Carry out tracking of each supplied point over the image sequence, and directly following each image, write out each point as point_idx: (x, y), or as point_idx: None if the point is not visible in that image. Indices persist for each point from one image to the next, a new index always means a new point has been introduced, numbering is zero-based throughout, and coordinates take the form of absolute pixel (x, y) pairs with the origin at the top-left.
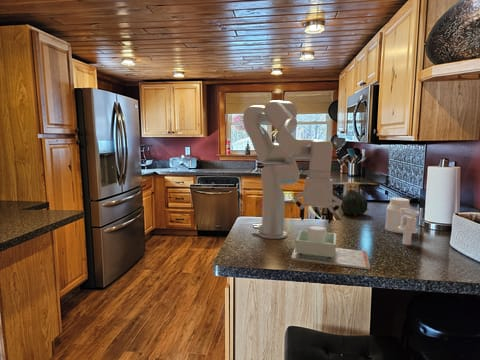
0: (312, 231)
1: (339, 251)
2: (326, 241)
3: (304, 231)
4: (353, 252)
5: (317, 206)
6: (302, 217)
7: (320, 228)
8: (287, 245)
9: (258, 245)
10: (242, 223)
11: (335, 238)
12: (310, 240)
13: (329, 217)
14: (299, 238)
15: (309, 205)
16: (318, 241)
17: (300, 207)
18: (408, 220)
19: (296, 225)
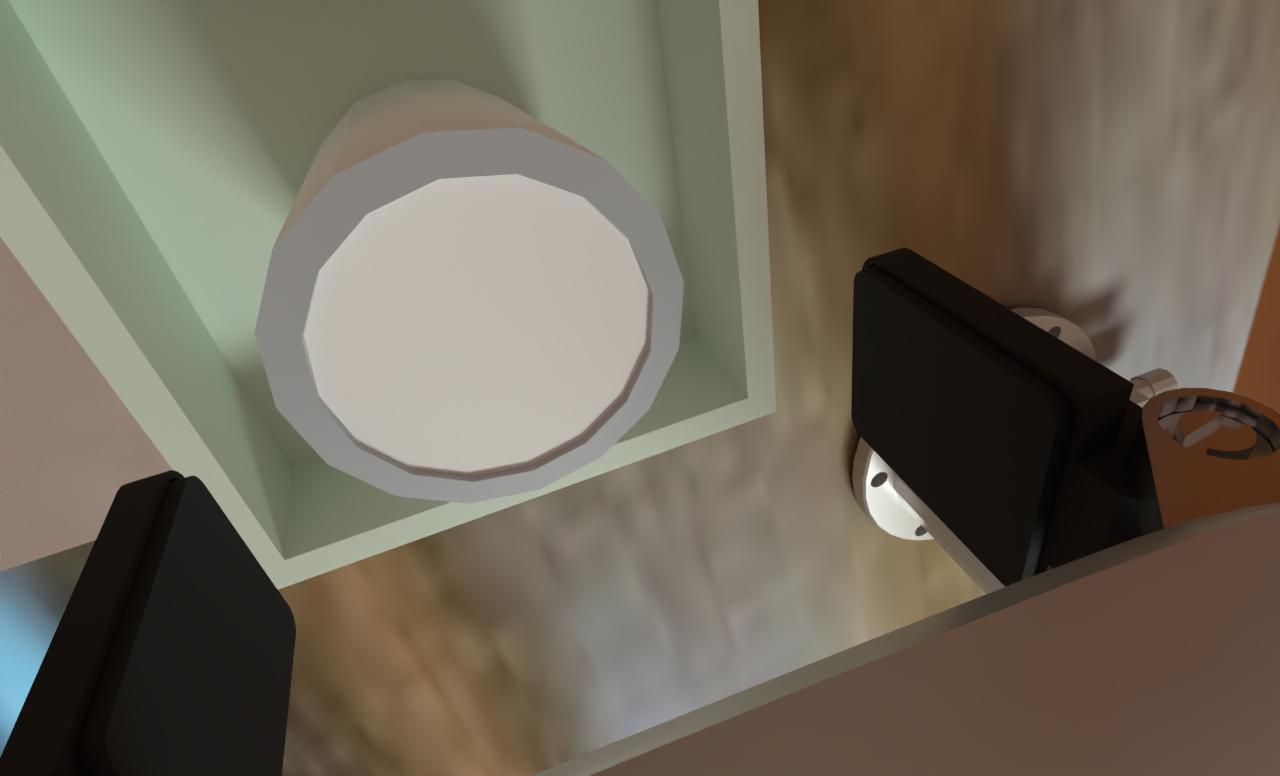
0: (517, 123)
1: None
2: None
3: (712, 404)
4: (2, 472)
5: (666, 734)
6: (918, 278)
7: (407, 341)
8: (802, 258)
9: (1077, 67)
10: None
11: (116, 374)
12: (519, 111)
13: (112, 605)
14: (710, 70)
15: (1115, 556)
16: (361, 114)
17: (1246, 430)
18: None
19: None
